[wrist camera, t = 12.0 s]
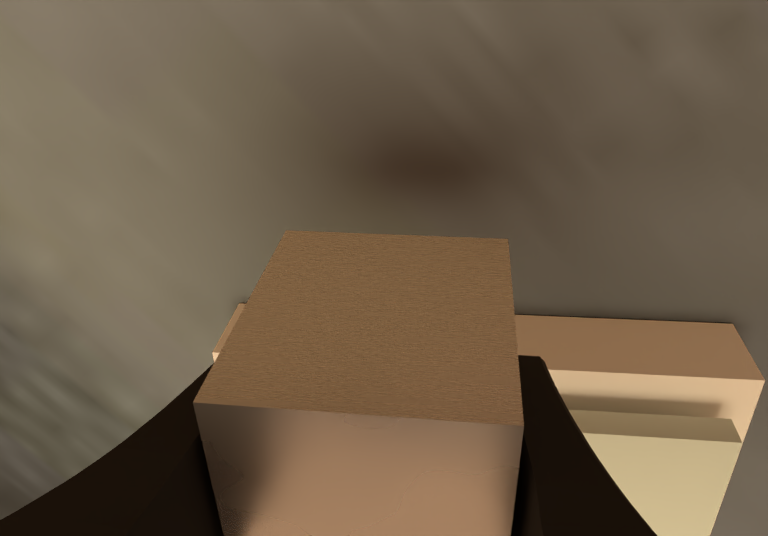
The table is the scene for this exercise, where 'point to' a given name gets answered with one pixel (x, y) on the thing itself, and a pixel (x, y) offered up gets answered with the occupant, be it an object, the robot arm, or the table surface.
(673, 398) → the scale housing
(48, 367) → the table surface
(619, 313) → the table surface
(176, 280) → the table surface
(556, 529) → the robot arm
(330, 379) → the tan brown block
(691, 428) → the pan
